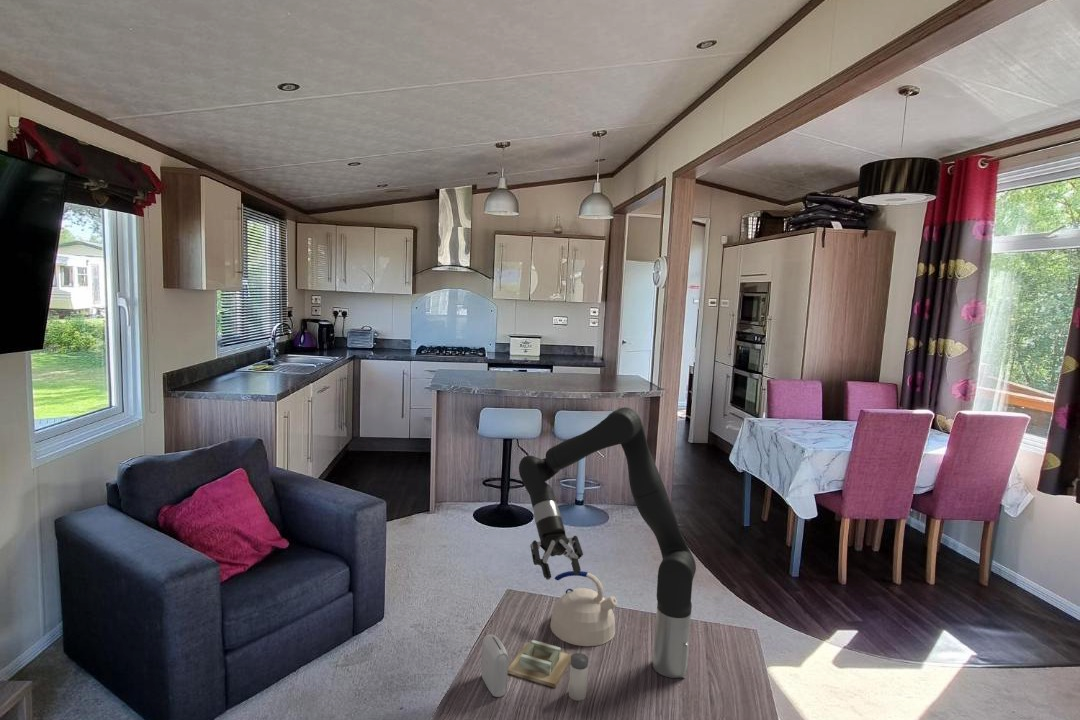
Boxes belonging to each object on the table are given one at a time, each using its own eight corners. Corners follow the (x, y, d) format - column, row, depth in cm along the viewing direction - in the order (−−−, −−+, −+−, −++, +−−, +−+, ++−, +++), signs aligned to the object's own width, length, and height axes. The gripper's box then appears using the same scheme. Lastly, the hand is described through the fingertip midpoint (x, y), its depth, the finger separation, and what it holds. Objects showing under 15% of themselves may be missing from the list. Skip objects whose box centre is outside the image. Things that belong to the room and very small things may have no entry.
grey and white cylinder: (587, 692, 151) (590, 655, 150) (582, 702, 147) (585, 665, 146) (571, 687, 153) (574, 651, 152) (566, 697, 149) (568, 660, 148)
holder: (572, 658, 165) (573, 645, 165) (555, 687, 152) (556, 673, 152) (526, 645, 170) (527, 632, 170) (506, 672, 157) (507, 658, 157)
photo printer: (478, 675, 156) (480, 631, 155) (493, 671, 158) (496, 628, 156) (492, 699, 147) (495, 653, 145) (508, 695, 149) (511, 649, 147)
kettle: (603, 655, 168) (607, 595, 166) (538, 634, 177) (541, 577, 175) (624, 622, 186) (628, 567, 184) (565, 604, 195) (568, 552, 193)
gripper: (529, 517, 162) (544, 575, 153) (575, 512, 168) (591, 568, 158) (521, 528, 167) (534, 585, 158) (566, 523, 173) (581, 577, 164)
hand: (563, 576), depth 158 cm, fingers open, 8 cm apart
